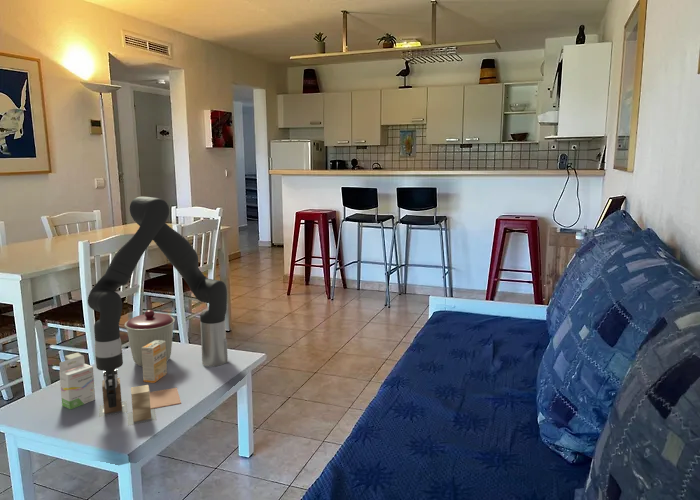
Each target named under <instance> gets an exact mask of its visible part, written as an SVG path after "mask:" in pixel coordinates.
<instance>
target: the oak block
mask: <svg viewBox="0 0 700 500" xmlns="http://www.w3.org/2000/svg"><path fill="white" fill-rule="evenodd" d="M149 392H150V386H149V384H144V385H139V386H132V387H130V395H131V407H132V409H131V410H132V412H133V422H137V421H142V420H148V419H151V409H150V393H149Z"/></svg>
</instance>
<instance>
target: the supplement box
mask: <svg viewBox="0 0 700 500" xmlns="http://www.w3.org/2000/svg"><path fill="white" fill-rule="evenodd" d="M141 349H142V365H143V366H142V378H143V379H142V380H143V382H144V383H151V384H156V383H157V382H159V380H160V379H162V378H163V377H165V376H166V375H167V374H168V369H167V368H168V367H167V366H168V365H167V362H166V341H162V340H154V341H152V342H150V343H149V344H147V345H145V346H143V347H142V348H141Z"/></svg>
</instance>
